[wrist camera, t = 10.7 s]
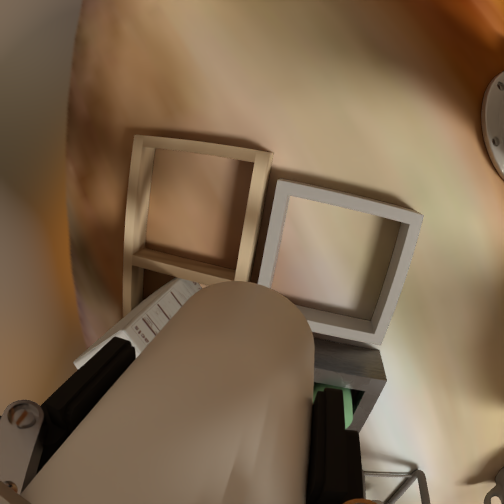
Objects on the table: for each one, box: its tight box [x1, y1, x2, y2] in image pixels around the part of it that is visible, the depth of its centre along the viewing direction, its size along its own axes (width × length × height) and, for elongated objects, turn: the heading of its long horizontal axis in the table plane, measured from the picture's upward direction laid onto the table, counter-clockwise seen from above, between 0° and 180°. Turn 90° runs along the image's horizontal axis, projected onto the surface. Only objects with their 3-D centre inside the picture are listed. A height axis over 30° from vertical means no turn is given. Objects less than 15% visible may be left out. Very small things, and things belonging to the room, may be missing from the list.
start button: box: [313, 382, 353, 429], centre depth 28 cm, size 4×4×6 cm
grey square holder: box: [313, 337, 387, 434], centre depth 29 cm, size 8×8×5 cm
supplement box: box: [74, 277, 202, 369], centre depth 27 cm, size 7×7×13 cm
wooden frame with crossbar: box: [123, 135, 274, 318], centre depth 30 cm, size 23×12×2 cm, turn 170°
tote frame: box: [258, 178, 424, 345], centre depth 27 cm, size 12×12×2 cm
